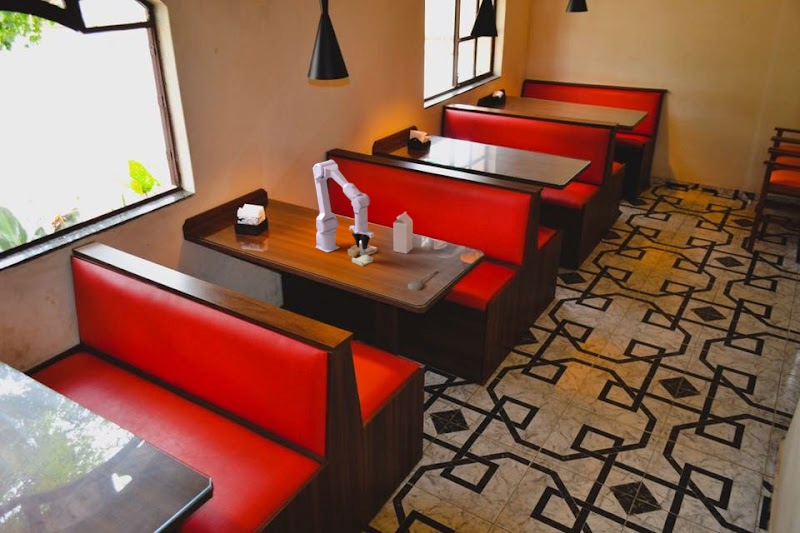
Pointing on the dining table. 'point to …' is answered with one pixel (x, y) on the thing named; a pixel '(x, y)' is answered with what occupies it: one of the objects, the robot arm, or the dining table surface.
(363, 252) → the peg
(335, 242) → the robot arm
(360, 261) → the pad
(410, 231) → the milk carton
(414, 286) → the soupspoon
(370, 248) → the socket block
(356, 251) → the block
